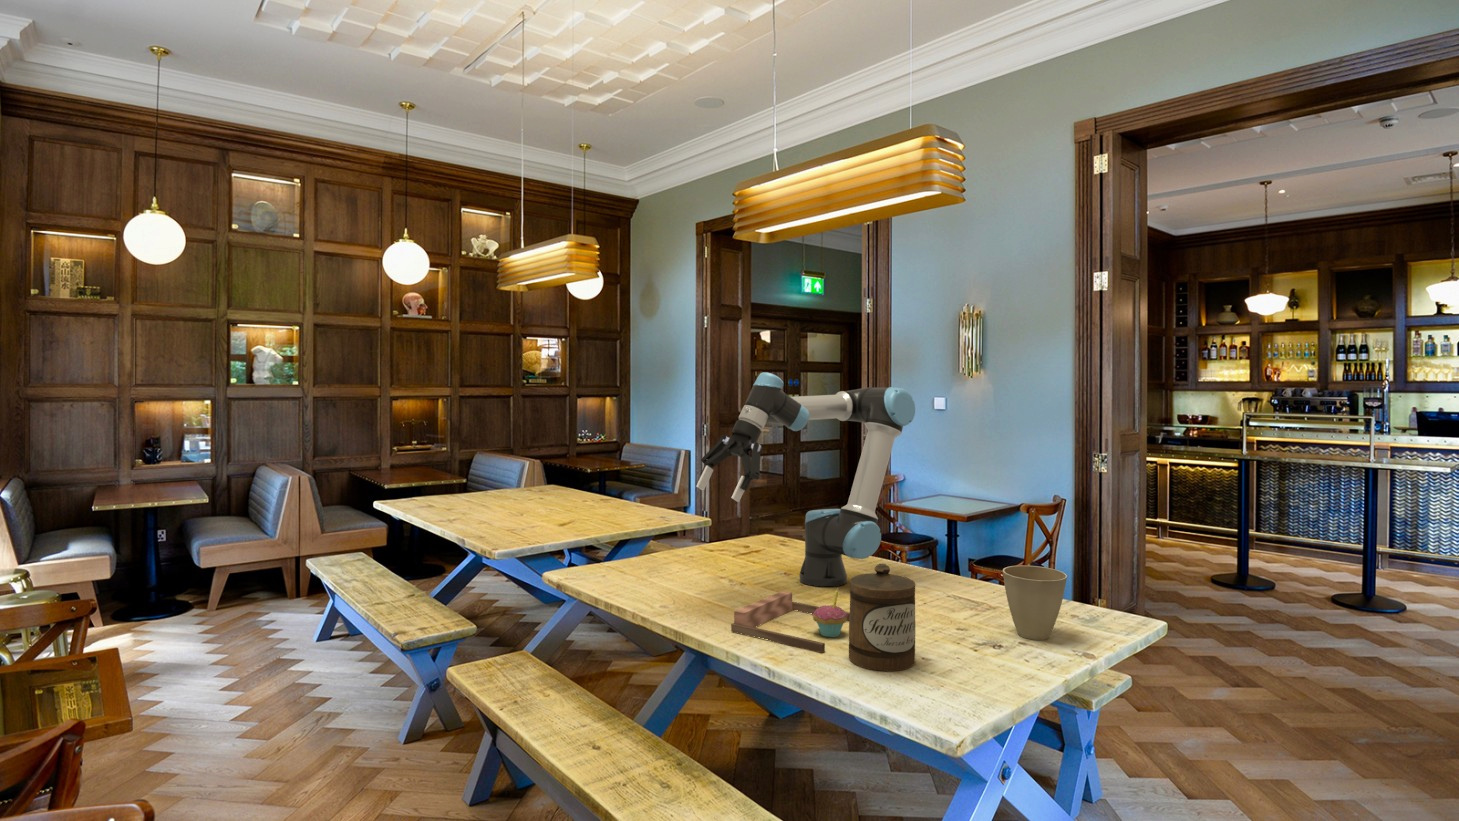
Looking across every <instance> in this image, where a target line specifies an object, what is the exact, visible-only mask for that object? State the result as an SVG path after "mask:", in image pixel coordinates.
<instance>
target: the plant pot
mask: <svg viewBox="0 0 1459 821" xmlns="http://www.w3.org/2000/svg"><path fill="white" fill-rule="evenodd" d="M1002 575H1003V576H1002V577H1003V583H1004V588H1005V589H1004V591H1005V595H1006V599H1007V604H1008V609H1009V612H1010V615H1011V617H1012V621H1013V624H1014V628H1015V630H1016V632H1017V635H1019V636H1020V637H1022V638H1024V639H1027V640H1034V641H1042V640H1043V641H1044V640H1048V639H1049V638H1050V636H1051V634H1052V632H1053V629H1054V628H1055V625H1056V622H1057V619H1058V616H1059V614H1060V610H1061V607H1062V603H1063V599H1064V595H1065V591H1066V590H1065V589H1066V586H1067V579H1068V575H1067V574H1066V573H1065V572H1064V571H1061V570H1058V569H1054V568H1050V567H1045V566H1037V565H1011V566H1007V567H1004V568H1003V569H1002Z"/></svg>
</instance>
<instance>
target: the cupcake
mask: <svg viewBox="0 0 1459 821" xmlns="http://www.w3.org/2000/svg"><path fill="white" fill-rule="evenodd" d="M838 595H839V587H837V588H836V590H835V593H834V599H833V604H830V605H826V604H825V605H821V606H818V607H819V608H817V609H816V610H815V611H814V614H812V616H813V617H812V618H813V621H814V622H816V624H817V627H818V629H819V632H820V634H822V635H821V636H823V635H824V636H823V637H827V638H828V637H829V638H835V636H836V637H839V636H840V635H841V631H842V629H843V625H844V624H845V623H846V622H847V621H846V620H847V617H848V616H847V613H845V612H846V611H845V610H844V609H842V608H841V607H840V606H837V601H838V597H839V596H838Z"/></svg>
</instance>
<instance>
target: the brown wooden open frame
mask: <svg viewBox="0 0 1459 821" xmlns="http://www.w3.org/2000/svg"><path fill="white" fill-rule="evenodd" d="M819 607H820V606H817V605H811V604H806V603H800V602H796V601H793V592H792V591H788V590H781V591H779V592H777V593H775V594H772V595H770V596H769V595H768V596H767V597H765V598H763V599H760V600H757V601H755V602H753V603H750V604H748V605H746V606H743V607H741V608H739V609H736V610H734V611H733V623H731V624H730V626H731V627H730V628H731V630H730V631H733V632H732V633H734V632H738V633H742V634H746V635H745V636H747V635H750V636H749V637H751V636H755V637H760V638H764V639H768V640H771V641H770V642H773V641H774V642H773V643H777V642H778V643H777V644H781V645H786V646H791V647H794V646H795V647H794V648H798V647H799V648H798V649H804V650H807V651H812V652H816V653H821V654H824V653H826V649H825V648H826V644H825V642H822V641H816V640H812V639H807V638H803V637H799V636H794V635H790V634H785V633H781V632H776V631H773V630H768V629H763V628H759V627H760V626H761V625H760V624H762V625H764V624H766V623H768V622H770V621H772V620H774V618H775V619H777V618H779V617H781V616H783V615H785V614H787V613H789V612H791V610H792V611H794V610H798V611H797V612H799V611H802V612H801V613H804V612H808V613H807V614H809V613H812V614H811V615H813V614H814V611H815V610H816V609H817V608H819ZM845 613H847V616H848V617H847V620H846V622H849V616H850V612H848V611H845ZM778 616H779V617H778ZM776 617H777V618H776ZM769 620H770V621H769ZM767 621H768V622H767ZM765 622H766V623H765ZM763 623H764V624H763ZM759 625H760V626H759ZM756 626H757V627H756ZM738 633H737V634H738ZM742 634H741V635H742ZM755 637H754V638H755ZM760 638H759V639H760ZM764 639H763V640H764ZM768 640H767V641H768Z"/></svg>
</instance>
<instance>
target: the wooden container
mask: <svg viewBox="0 0 1459 821" xmlns="http://www.w3.org/2000/svg"><path fill="white" fill-rule="evenodd" d="M890 570H891V567H890V566H889V565H887V564H886V563H878V564H877V565H875V566H874V571H875V573H862V574H858V575H854V576H853V577H851V578H850V581H849V613H850V616H849V621H848V659H849V661H850V662H851V663H853V664H854V665H856V666H858V667H861V668H863V669H865V670H866V669H867V670H872V671H877V672H895V671H896V672H898V671H904V670H907V669H909V668H911V667H912V666H914V665H915V662H916V583H915V580H913V579H911V578H910V577H909V578H908V577H906V576H902V575H898V574H890Z"/></svg>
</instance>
